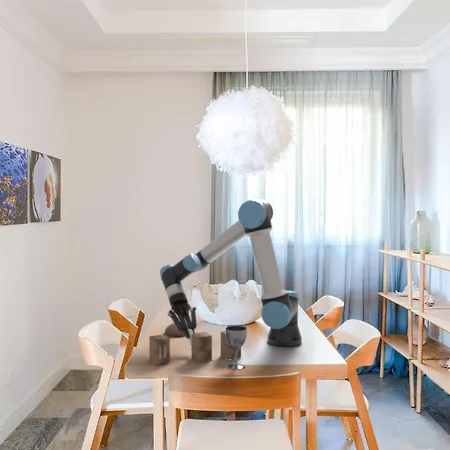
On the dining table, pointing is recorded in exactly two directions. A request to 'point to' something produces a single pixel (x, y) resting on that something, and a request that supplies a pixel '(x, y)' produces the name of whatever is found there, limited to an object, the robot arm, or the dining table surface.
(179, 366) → the dining table surface
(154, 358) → the marked block 1
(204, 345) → the unmarked block
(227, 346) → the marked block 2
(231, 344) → the wine glass
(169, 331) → the decorative stone
